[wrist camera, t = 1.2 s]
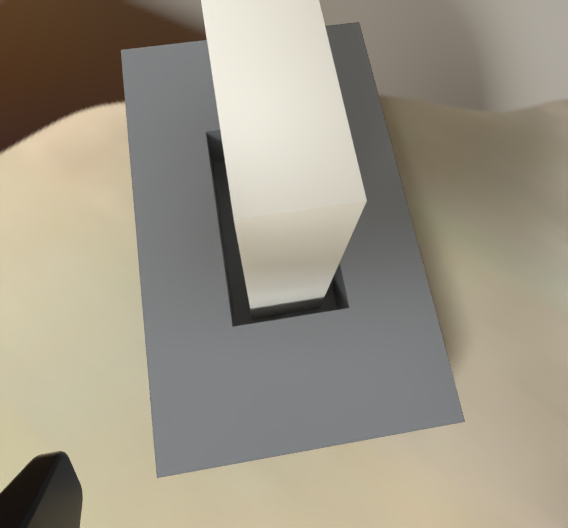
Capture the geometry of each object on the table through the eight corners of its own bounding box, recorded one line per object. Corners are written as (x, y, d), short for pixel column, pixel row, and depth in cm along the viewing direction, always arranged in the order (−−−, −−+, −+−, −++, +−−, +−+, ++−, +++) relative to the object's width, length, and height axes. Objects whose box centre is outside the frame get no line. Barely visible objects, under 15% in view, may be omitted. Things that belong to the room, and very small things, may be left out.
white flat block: (319, 307, 21) (367, 201, 11) (251, 318, 21) (233, 220, 11) (292, 166, 23) (309, -38, 13) (230, 174, 23) (197, -25, 13)
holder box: (433, 421, 21) (465, 421, 18) (175, 468, 20) (156, 477, 17) (347, 72, 26) (359, 22, 23) (140, 98, 25) (120, 49, 22)
